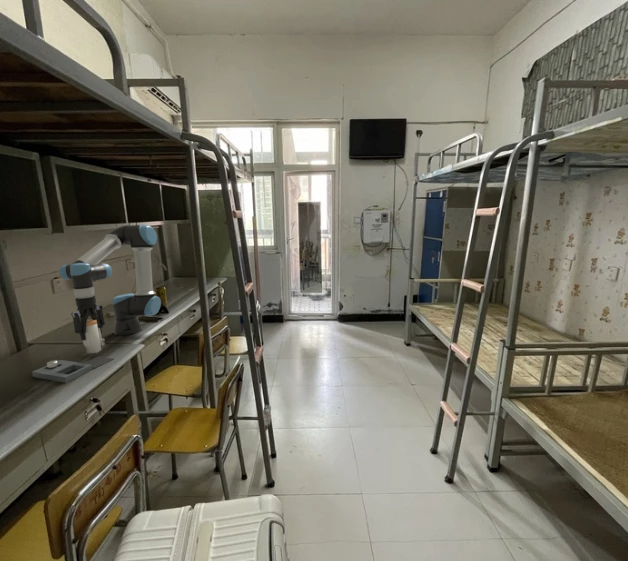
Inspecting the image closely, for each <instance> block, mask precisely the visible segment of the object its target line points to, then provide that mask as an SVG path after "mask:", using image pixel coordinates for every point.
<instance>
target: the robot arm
mask: <svg viewBox="0 0 628 561" xmlns="http://www.w3.org/2000/svg"><path fill="white" fill-rule="evenodd" d="M157 242H158V234H157V232H156V231H155V228H154V227H152V226H151V225H148V224H135V225H134V224H132V225H129V224H126V225H121V226H119V227H116V228H115V229H113V230H111V231H110V232H108V233H107V234H105V235H104V239H103V240H101V241H100V242H98V243H97V244H96V245H95V246H93V247H92V248H90V249H89V250H88V251H87V252H85V253H84V254H83V255H82V256H80V257H79V258H78V259H76V260H75V261H74V262H72V263H71V264H69V263H67V264H63V265H62V266H60V267H59V268H58V274H59V276H60V277H61V278H62V279H64V280H67V281H68V280H70V281H71V282H72V287H73V294H74V298H75V305H76V307H77V309H76V311H75V312H71V314H70V315H71V317H72V320H73V327H74V333H75V334H79V335H80V339H81V341H82V342H83V343H82V344H83V346H84V347H85V346H90V344H89V339H88V333H85V332H86V323H87V320H89V317H90V319H93V320H97V326H98V332H99V338H100V341H102V338H103V337H102V333H103V331H102V328H103V327H104V326H105V324H106V322H105V318H104V312H103V307H104V306H103V305H99V304H98V305H97V301H96V296H95V294H96V292H95V286H94V282H96V281H100V280H106V279H107V278H110V277H111V276H112V275H113V267H111V265H109V264H108V263H100V262H102V261H103V260H104V259H105V258H106V257H108V256H109V255H110V254H111V253H112V252H114V251H115V250H118V249H120V248H122V247H124V246H130V248H131V250H132V251H133V255H134V268H135V284H136V292H135V293H133V292H132V293H131V292H130V293H129V292H128V293H124V294H119V295H117V296H115V297H113V298H112V308H113V309H112V310H113V314H114V319H115V320H114V321H115V322H114V328H113V334H114V335H115V336H129V335H132V334H136V333H139V332H141V331H142V330H143V325H142V324H141V322H140V320H139V318H138V316H146V317H148V316H149V317H150V316H155V315H156V314H157V313H158V312H159V310H160V309H161V305H162V301H161V298H160V297H159V296H157V292H155V290H154V285H153V272H152V271H153V268H152V253H151V252H152V250H153V249H154V245H156V244H157Z"/></svg>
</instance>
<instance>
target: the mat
mask: <svg viewBox="0 0 628 561" xmlns="http://www.w3.org/2000/svg"><path fill="white" fill-rule="evenodd" d="M113 360H115V358H111V357H107V356H96V357H94V358H92V359H90V360H87V361H85V362H83V363H84V364H91V365H92V368H93V370H96V369H97V368H99V367H101V366H103V365H105V364H107V363H109V362H112V361H113Z"/></svg>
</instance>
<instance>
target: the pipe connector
mask: <svg viewBox="0 0 628 561" xmlns="http://www.w3.org/2000/svg"><path fill="white" fill-rule="evenodd" d="M100 344H101V347H104V346H105V345H106V343H105V338H104V337H102V341H100ZM84 347H85V350H87V348H86V346H84ZM99 352H100V351H98V352H95V353H94V354H99Z"/></svg>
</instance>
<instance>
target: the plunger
mask: <svg viewBox="0 0 628 561" xmlns="http://www.w3.org/2000/svg"><path fill="white" fill-rule="evenodd" d="M58 361H59V360H58V359H54V360H50V361H48V362H46V366H47V368H48V369H50V370H52V369H54V368H56V367H59V364H58Z"/></svg>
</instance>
